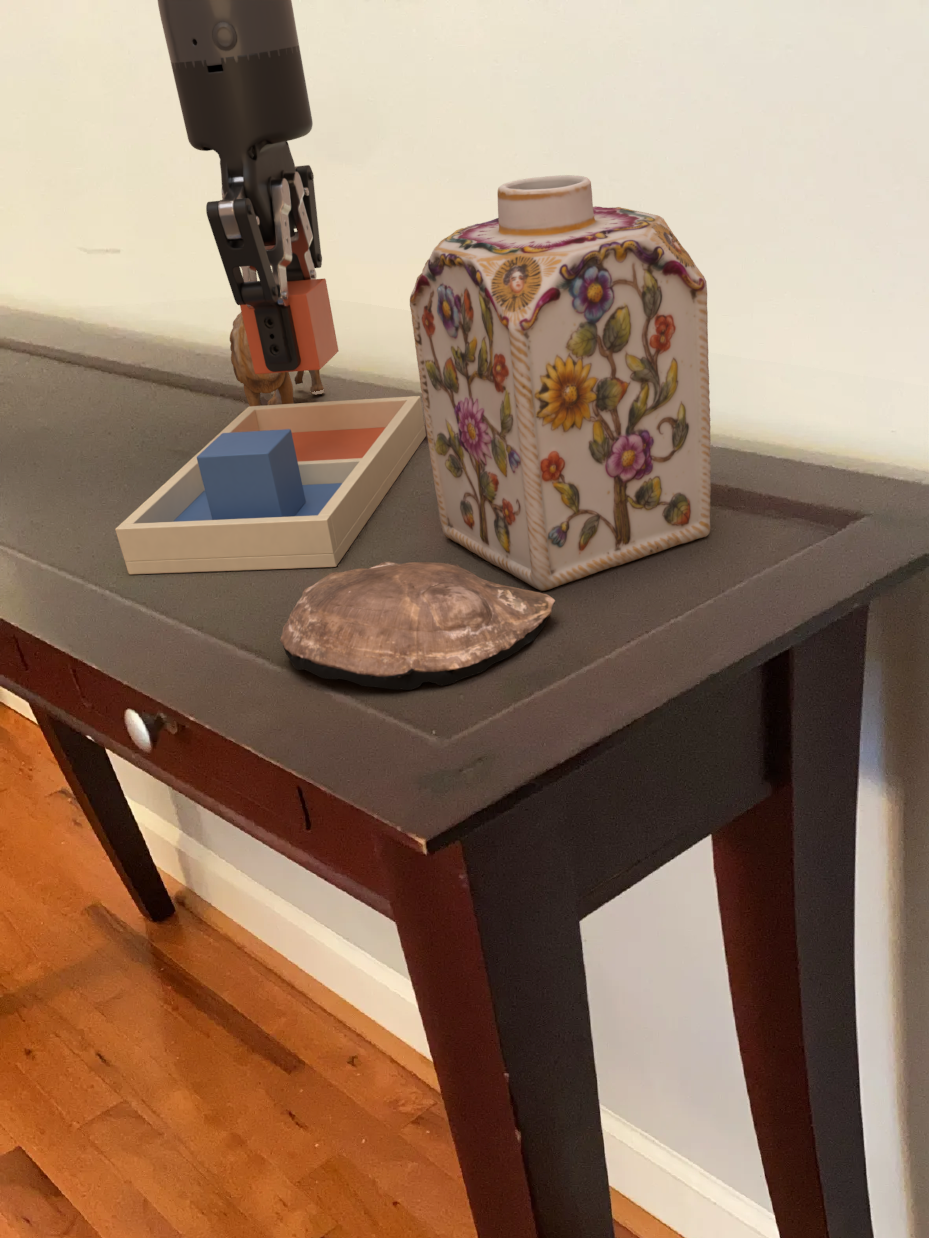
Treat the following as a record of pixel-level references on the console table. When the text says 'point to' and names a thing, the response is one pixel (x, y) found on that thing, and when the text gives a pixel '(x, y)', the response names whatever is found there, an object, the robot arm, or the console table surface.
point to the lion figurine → (262, 382)
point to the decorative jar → (565, 384)
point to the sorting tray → (332, 482)
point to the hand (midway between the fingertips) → (296, 357)
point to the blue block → (252, 475)
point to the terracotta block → (300, 326)
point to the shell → (409, 624)
